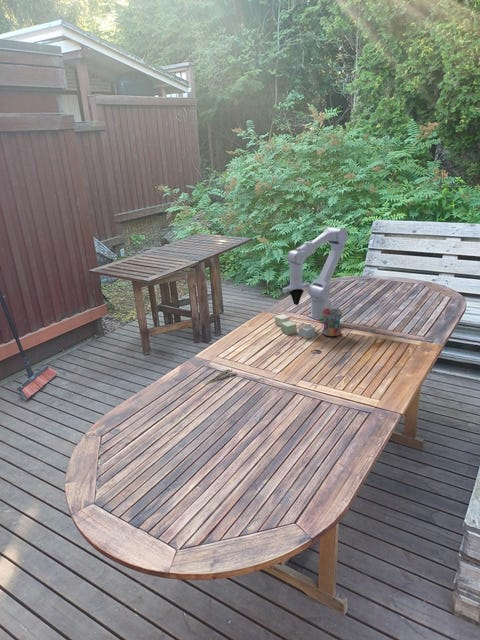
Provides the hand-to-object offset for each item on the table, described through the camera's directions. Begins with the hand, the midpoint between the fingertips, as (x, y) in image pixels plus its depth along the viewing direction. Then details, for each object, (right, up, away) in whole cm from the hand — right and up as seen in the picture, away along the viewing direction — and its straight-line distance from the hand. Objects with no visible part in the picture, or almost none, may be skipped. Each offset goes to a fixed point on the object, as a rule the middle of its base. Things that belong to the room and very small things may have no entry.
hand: (296, 304), depth 214 cm
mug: (+15, -13, -10) cm, 23 cm away
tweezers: (-35, -30, -45) cm, 65 cm away
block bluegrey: (+3, -15, -11) cm, 19 cm away
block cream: (-6, -10, +3) cm, 12 cm away
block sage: (-4, -13, -6) cm, 15 cm away
